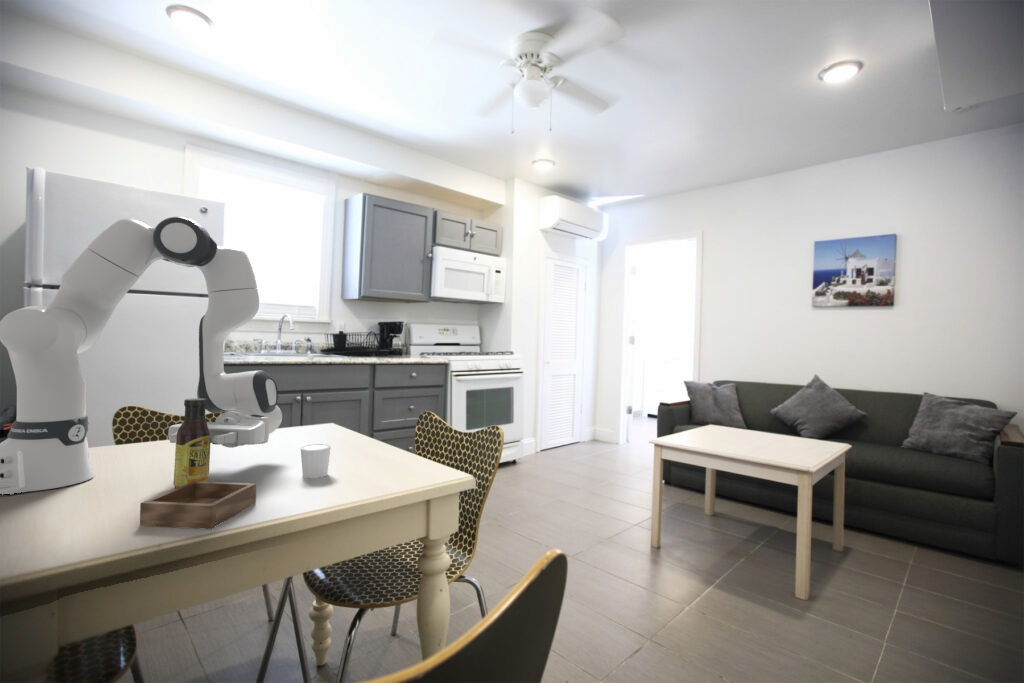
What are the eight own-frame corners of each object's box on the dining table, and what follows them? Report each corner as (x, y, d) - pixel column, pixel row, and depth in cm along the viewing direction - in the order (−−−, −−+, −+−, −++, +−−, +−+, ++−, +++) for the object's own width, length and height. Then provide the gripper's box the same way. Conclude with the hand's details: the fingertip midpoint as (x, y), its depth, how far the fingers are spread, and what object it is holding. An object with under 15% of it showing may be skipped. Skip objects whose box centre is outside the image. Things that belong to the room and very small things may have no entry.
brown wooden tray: (139, 525, 82) (140, 503, 82) (193, 500, 95) (193, 481, 95) (211, 529, 82) (212, 506, 82) (255, 503, 95) (256, 483, 95)
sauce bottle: (190, 497, 97) (193, 401, 97) (165, 494, 98) (168, 400, 98) (216, 488, 104) (218, 398, 104) (192, 485, 105) (194, 396, 105)
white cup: (319, 480, 111) (320, 450, 111) (293, 478, 112) (294, 448, 112) (335, 472, 118) (336, 444, 118) (310, 470, 119) (311, 442, 119)
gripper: (194, 413, 116) (148, 423, 102) (275, 416, 115) (239, 427, 101) (193, 439, 116) (147, 452, 102) (274, 442, 115) (239, 456, 101)
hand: (194, 439), depth 101 cm, fingers open, 8 cm apart
